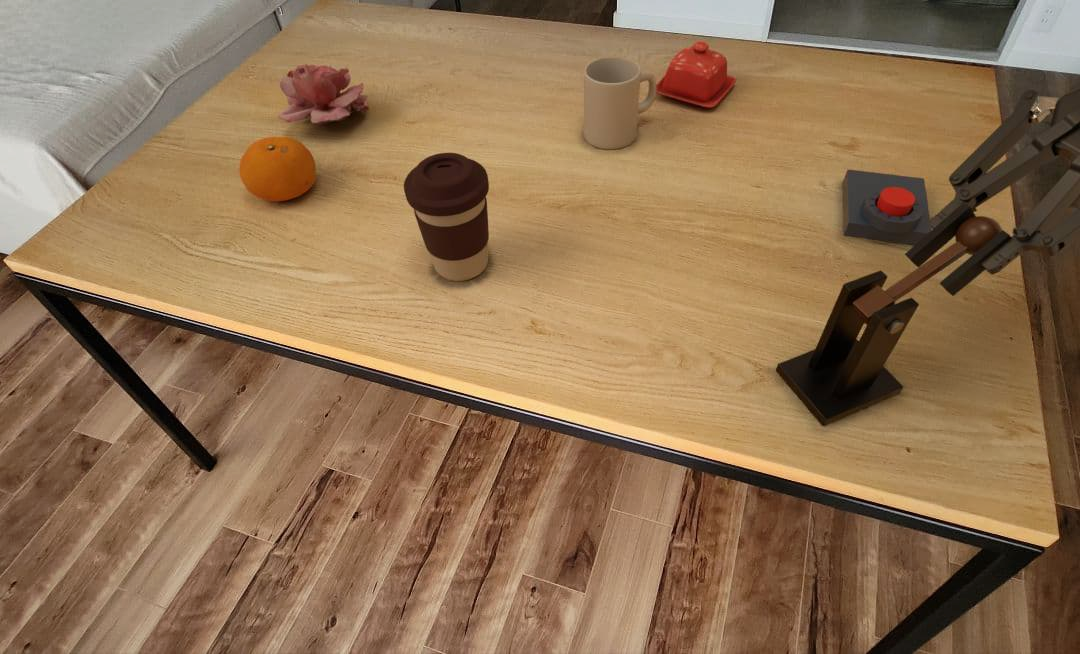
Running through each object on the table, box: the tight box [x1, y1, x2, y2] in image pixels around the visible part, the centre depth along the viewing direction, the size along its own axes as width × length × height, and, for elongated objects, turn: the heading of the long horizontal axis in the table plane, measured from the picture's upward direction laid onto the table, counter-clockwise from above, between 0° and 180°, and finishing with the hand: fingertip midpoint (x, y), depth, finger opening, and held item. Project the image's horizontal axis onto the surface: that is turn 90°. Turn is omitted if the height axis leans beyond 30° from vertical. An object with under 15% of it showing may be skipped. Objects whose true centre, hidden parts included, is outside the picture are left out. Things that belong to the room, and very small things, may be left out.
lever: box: [853, 215, 1003, 326], centre depth 60 cm, size 14×4×4 cm, turn 113°
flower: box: [278, 63, 370, 124], centre depth 107 cm, size 15×15×10 cm
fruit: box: [238, 136, 317, 202], centre depth 95 cm, size 10×10×8 cm
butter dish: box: [656, 40, 737, 109], centre depth 108 cm, size 12×12×8 cm
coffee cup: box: [403, 152, 490, 282], centre depth 80 cm, size 10×10×15 cm
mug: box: [582, 56, 657, 150], centre depth 100 cm, size 12×8×11 cm
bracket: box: [775, 270, 920, 427], centre depth 65 cm, size 10×8×14 cm
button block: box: [842, 168, 933, 246], centre depth 86 cm, size 13×10×4 cm
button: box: [877, 187, 915, 217], centre depth 82 cm, size 4×4×2 cm
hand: (929, 274), depth 61 cm, fingers closed on lever, 4 cm apart
